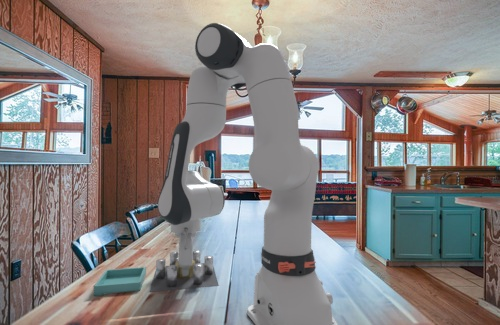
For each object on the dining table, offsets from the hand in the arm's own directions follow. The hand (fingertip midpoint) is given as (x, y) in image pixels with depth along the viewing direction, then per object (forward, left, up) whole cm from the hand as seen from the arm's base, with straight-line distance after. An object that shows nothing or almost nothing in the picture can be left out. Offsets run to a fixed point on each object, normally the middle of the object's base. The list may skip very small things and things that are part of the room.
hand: (185, 270), depth 80 cm
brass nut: (0, 0, -1) cm, 1 cm away
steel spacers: (0, 0, -2) cm, 2 cm away
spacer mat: (0, 0, -2) cm, 2 cm away
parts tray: (-2, +17, -2) cm, 17 cm away
